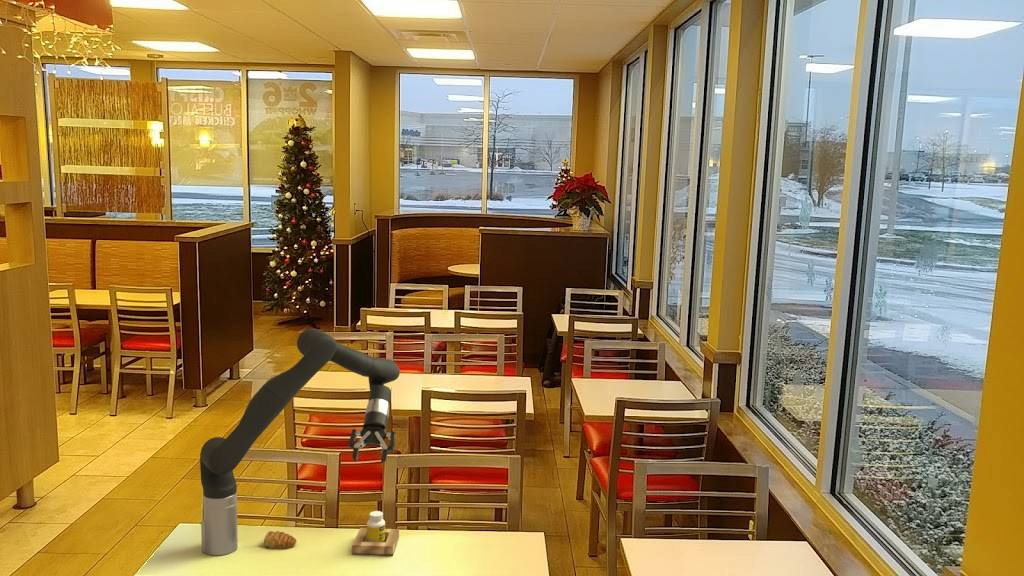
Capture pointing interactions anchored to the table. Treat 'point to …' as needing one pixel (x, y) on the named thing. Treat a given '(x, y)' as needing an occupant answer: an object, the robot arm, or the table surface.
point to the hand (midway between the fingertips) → (368, 461)
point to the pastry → (279, 540)
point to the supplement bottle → (376, 527)
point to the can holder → (375, 544)
